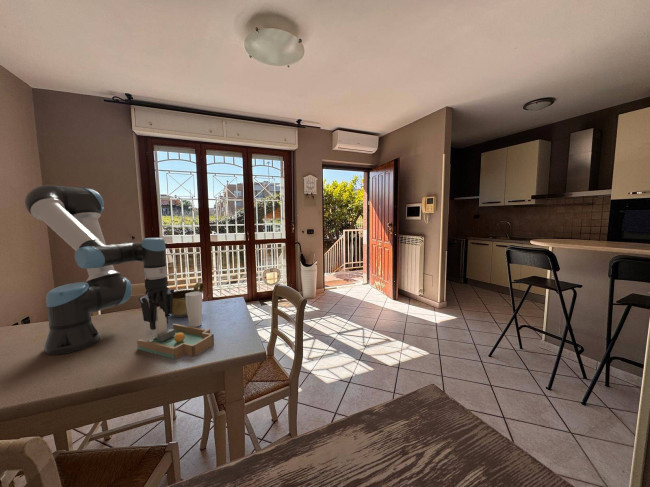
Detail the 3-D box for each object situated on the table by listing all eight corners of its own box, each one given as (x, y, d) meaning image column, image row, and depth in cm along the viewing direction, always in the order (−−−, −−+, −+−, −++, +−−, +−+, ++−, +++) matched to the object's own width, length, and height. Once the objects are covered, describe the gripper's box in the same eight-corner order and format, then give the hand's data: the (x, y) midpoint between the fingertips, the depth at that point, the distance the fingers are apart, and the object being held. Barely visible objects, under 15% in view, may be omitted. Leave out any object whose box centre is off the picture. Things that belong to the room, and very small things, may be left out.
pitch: (137, 349, 97) (136, 339, 96) (175, 331, 112) (174, 322, 111) (186, 361, 89) (185, 350, 88) (219, 340, 104) (219, 331, 103)
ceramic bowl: (170, 326, 117) (168, 294, 116) (151, 318, 126) (149, 288, 124) (213, 310, 136) (212, 283, 135) (194, 305, 145) (192, 279, 143)
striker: (150, 339, 101) (148, 310, 100) (164, 332, 107) (162, 305, 106) (161, 341, 99) (159, 312, 98) (175, 335, 105) (173, 307, 104)
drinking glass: (196, 329, 114) (195, 296, 113) (183, 327, 116) (181, 295, 114) (206, 322, 121) (205, 291, 119) (194, 321, 122) (192, 290, 121)
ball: (172, 343, 99) (171, 334, 99) (180, 339, 102) (179, 330, 102) (179, 344, 98) (178, 335, 98) (187, 340, 101) (186, 331, 101)
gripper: (142, 282, 92) (147, 345, 95) (180, 273, 107) (184, 327, 110) (128, 281, 95) (132, 342, 97) (167, 272, 110) (171, 325, 112)
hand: (160, 334), depth 104 cm, fingers closed on striker, 3 cm apart
